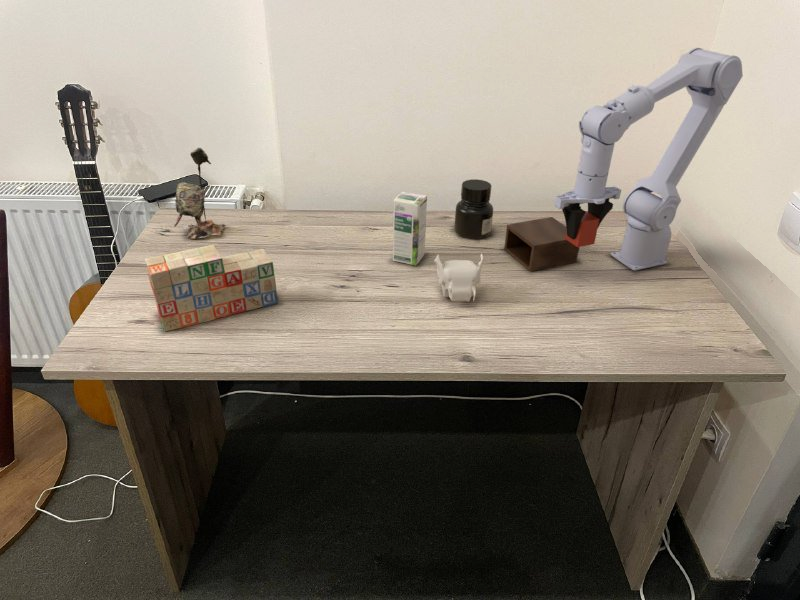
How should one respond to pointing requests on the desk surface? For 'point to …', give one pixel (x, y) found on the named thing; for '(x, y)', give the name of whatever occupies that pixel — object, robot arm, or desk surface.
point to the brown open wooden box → (540, 244)
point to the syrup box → (409, 227)
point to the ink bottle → (474, 210)
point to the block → (585, 231)
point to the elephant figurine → (458, 278)
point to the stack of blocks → (209, 284)
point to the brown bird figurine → (195, 203)
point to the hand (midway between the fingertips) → (580, 235)
